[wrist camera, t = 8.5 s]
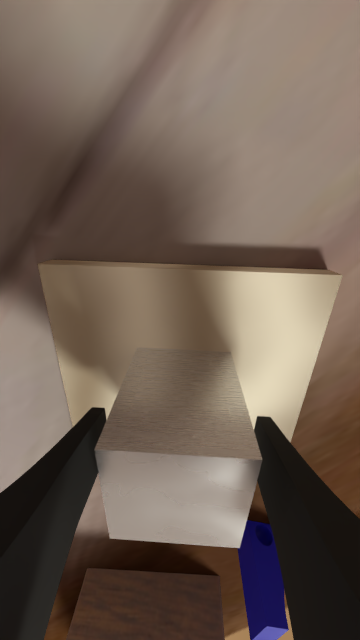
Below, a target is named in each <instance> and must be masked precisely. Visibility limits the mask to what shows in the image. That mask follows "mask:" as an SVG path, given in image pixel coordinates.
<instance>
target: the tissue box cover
mask: <svg viewBox="0 0 360 640" xmlns="http://www.w3.org/2000/svg"><path fill="white" fill-rule="evenodd" d="M66 640H225V639H224V627H223V614H222V602H221V589H220V576H213V575H197V574H181V573H164V572H148V571H132V570H115V569H99V568H87V571H86V574H85V578H84V581H83V584H82V588H81V591H80V594H79V598H78V601H77V605H76V608H75V611H74V615H73V618H72V621H71V625H70V628H69V632H68V635H67V638H66Z"/></svg>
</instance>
